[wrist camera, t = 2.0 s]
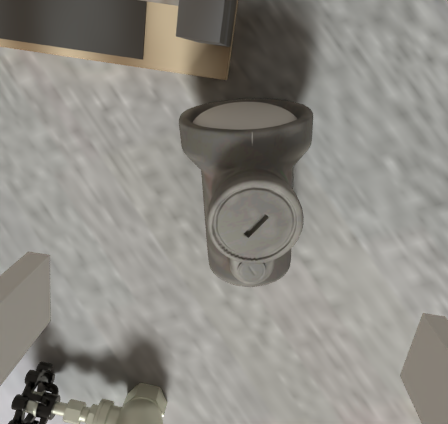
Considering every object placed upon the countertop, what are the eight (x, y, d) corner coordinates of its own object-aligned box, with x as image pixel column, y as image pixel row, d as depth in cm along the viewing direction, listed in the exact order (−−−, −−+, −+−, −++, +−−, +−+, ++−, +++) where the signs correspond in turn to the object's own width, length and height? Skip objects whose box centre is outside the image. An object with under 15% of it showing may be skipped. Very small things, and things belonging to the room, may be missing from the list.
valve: (175, 375, 38) (46, 345, 38) (159, 437, 31) (5, 401, 31) (163, 427, 40) (42, 400, 40) (146, 495, 34) (3, 462, 34)
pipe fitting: (183, 93, 28) (166, 137, 19) (300, 89, 28) (339, 131, 19) (194, 243, 34) (185, 332, 25) (292, 240, 34) (320, 328, 25)
